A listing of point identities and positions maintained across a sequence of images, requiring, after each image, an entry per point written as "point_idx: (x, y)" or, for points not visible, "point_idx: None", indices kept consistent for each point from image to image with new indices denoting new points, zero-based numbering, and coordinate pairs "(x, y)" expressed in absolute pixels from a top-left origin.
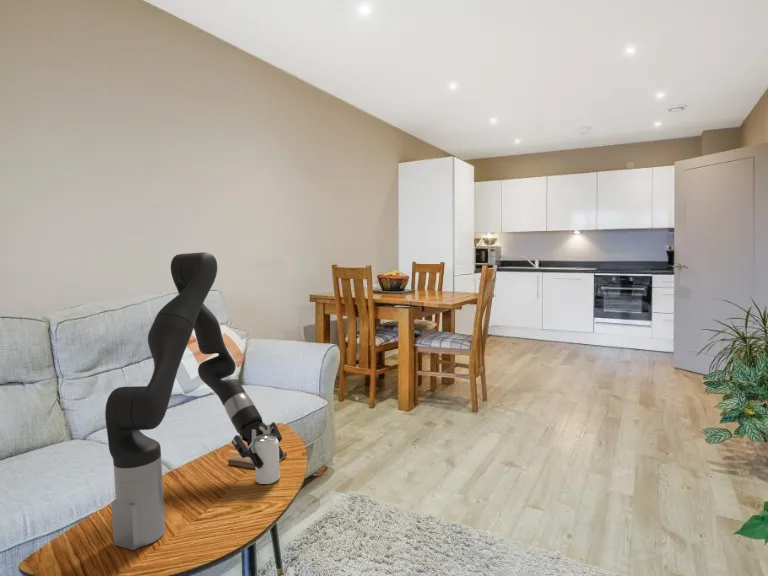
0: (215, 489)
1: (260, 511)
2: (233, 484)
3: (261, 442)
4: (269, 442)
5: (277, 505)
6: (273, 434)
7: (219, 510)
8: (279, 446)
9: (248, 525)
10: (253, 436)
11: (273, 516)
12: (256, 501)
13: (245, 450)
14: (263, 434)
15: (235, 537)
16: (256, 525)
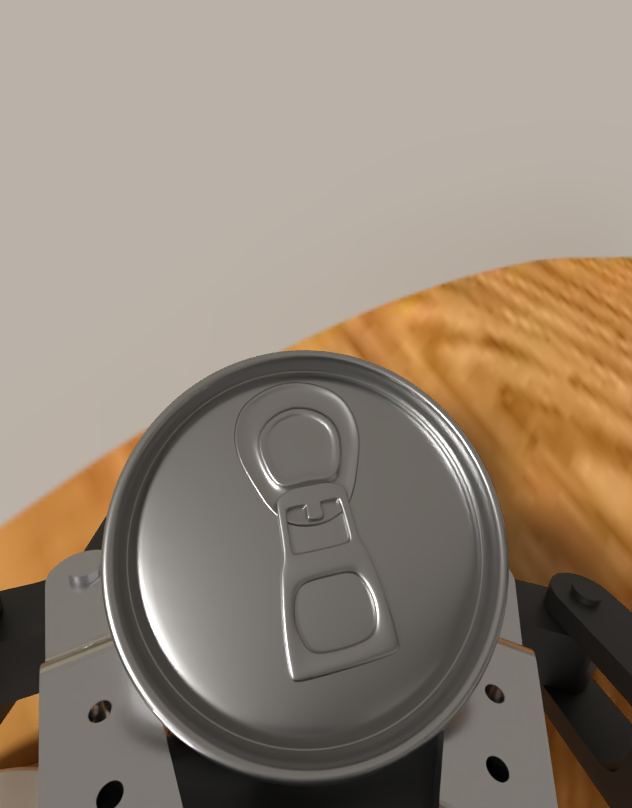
0: (577, 778)
1: (493, 337)
2: None
3: (461, 456)
4: (368, 379)
5: (421, 314)
6: (115, 534)
7: (624, 493)
8: (94, 540)
9: (567, 306)
10: (506, 796)
11: (476, 276)
12: (464, 412)
13: (615, 609)
14: (225, 753)
15: (625, 291)
16: (546, 285)
